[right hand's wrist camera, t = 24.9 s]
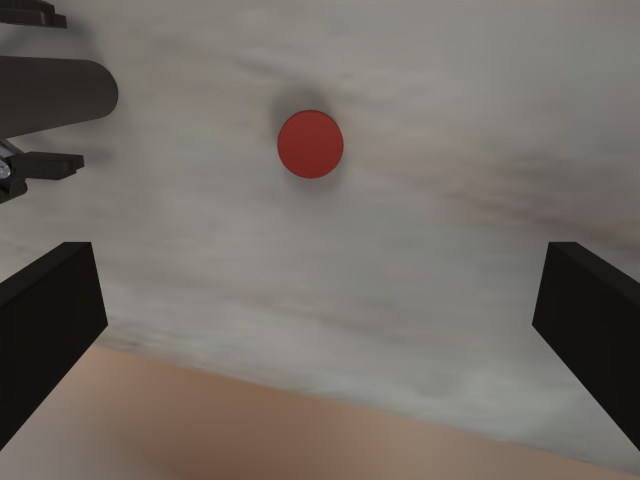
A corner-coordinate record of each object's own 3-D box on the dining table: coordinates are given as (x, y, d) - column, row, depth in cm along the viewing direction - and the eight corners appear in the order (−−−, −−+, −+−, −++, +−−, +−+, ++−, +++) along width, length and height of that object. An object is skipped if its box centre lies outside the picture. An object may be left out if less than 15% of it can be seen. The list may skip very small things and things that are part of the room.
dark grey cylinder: (56, 103, 33) (-244, 142, 15) (68, 49, 31) (-246, 22, 14) (110, 127, 33) (-117, 189, 16) (124, 75, 32) (-107, 81, 14)
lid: (346, 115, 33) (348, 117, 32) (336, 177, 35) (337, 182, 34) (282, 105, 33) (281, 107, 31) (276, 168, 35) (274, 173, 33)
